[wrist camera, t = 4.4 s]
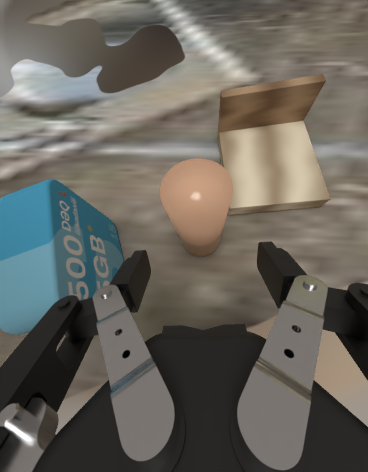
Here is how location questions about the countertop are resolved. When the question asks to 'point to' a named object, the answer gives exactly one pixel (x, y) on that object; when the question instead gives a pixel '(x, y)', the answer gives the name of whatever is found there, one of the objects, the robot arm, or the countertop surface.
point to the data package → (51, 252)
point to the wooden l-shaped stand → (270, 146)
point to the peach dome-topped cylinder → (197, 203)
